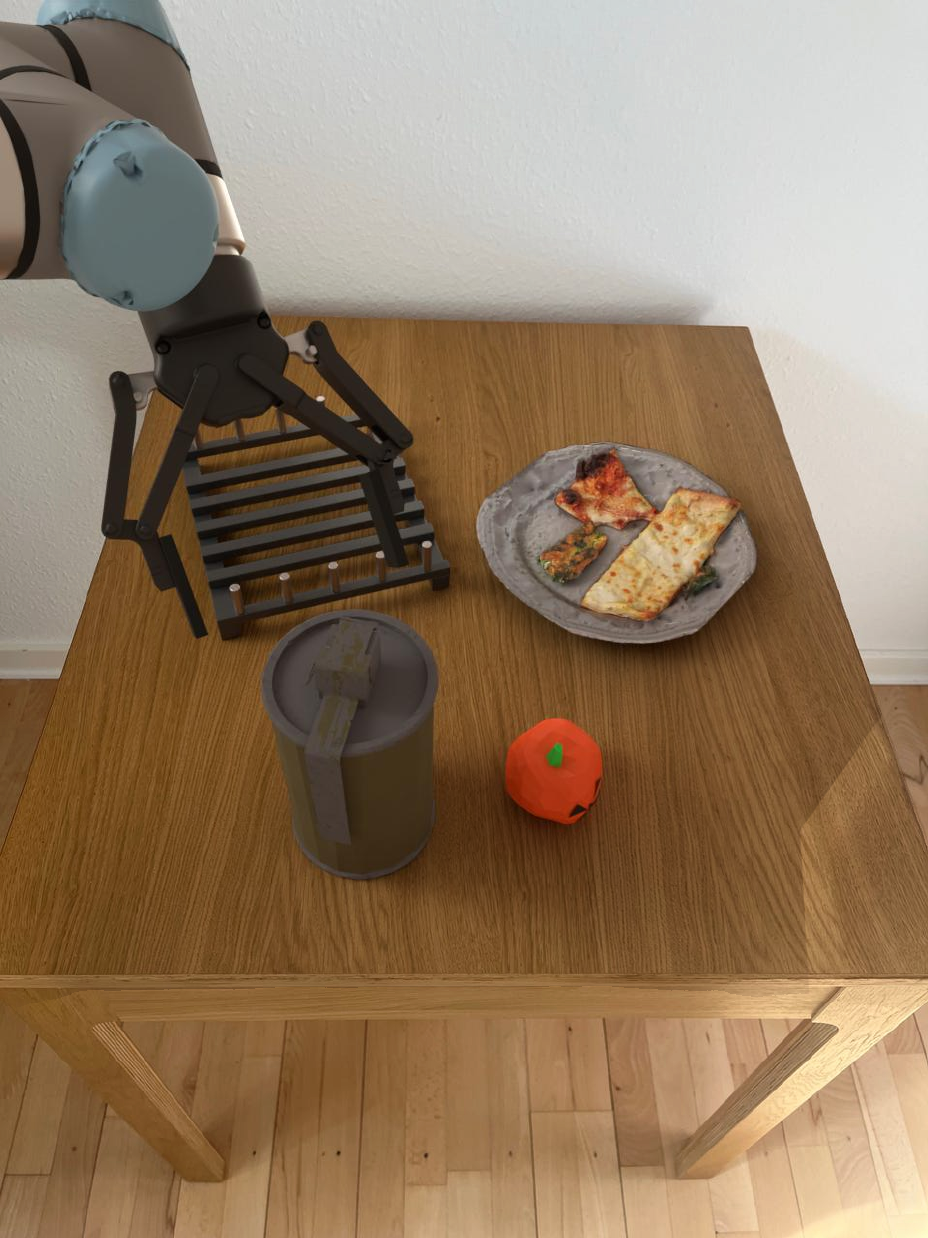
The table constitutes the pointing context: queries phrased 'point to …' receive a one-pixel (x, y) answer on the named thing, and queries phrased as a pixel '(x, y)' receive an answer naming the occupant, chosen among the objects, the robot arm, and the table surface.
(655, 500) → the food plate
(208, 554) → the dish rack
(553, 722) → the pumpkin
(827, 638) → the table surface
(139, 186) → the robot arm
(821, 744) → the table surface
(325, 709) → the canister
